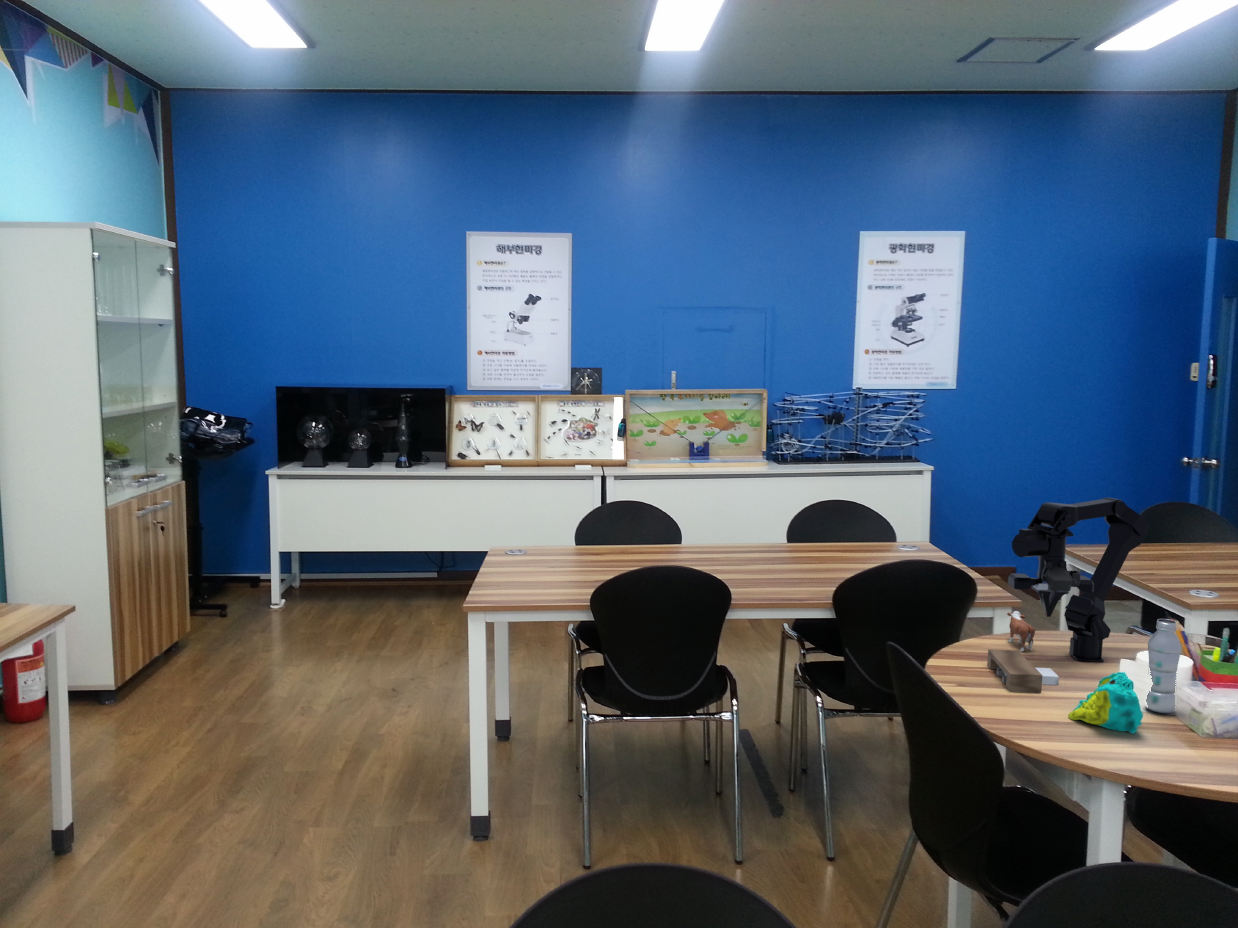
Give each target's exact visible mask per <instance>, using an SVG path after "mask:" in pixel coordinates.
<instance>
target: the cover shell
mask: <svg viewBox="0 0 1238 928" xmlns="http://www.w3.org/2000/svg"><path fill="white" fill-rule="evenodd" d="M1035 668H1036V669H1037V670H1038V671H1039V672H1040V673H1041V674H1042V685H1047V686H1049V685H1050V686H1059V684H1060V676H1059V675H1058V674H1057V673H1056V672H1055V671H1054V670H1053V669H1052V668H1050V667H1035ZM1002 671H1003V670H1002ZM1003 676H1007V675H1006V674H1005V673H1004V671H1003Z"/></svg>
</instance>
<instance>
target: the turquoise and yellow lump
mask: <svg viewBox="0 0 1238 928" xmlns="http://www.w3.org/2000/svg"><path fill="white" fill-rule="evenodd" d="M1134 684H1135V683H1134V681H1133V680H1132V679H1130V678H1129V676H1128V674H1127V673H1126V672H1125V671H1122V672H1121V671H1117V672H1113V673H1111V674H1109V675H1108V676H1107V675H1106V676H1103V677H1102V678H1101V679H1100V680H1099V682H1098V685H1097V688H1096V689H1095V690H1094V691H1093V692H1089V693H1088V694H1087V695H1086V699H1080V700H1079V701H1078V705H1077V706H1076V707H1075V708H1074V709H1073V710H1072V711H1070V712H1069V713H1068V715H1067V716H1068V717H1067V718H1068V719H1070V720H1073V721H1078V720H1081V721H1083V722H1085V723H1087V724H1091V725H1094V726H1098V727H1103V728H1106V729H1108V730H1113V731H1119V732H1129V733H1130V734H1136V732H1137V730H1139V728H1138V727H1139V726H1142V720H1143V717H1144V713H1143V711H1142V710H1141V704H1140V700H1139V698H1138V695H1137V693H1136V692H1135V690H1134V687H1135V685H1134Z"/></svg>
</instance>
